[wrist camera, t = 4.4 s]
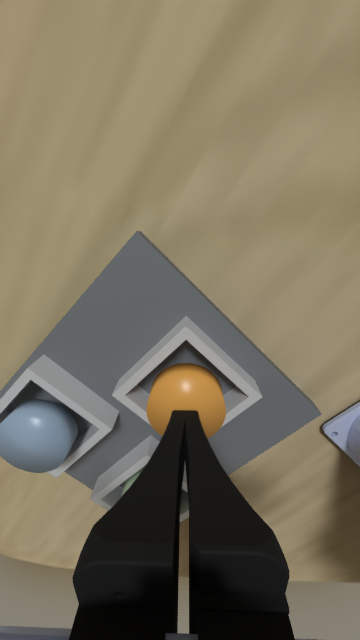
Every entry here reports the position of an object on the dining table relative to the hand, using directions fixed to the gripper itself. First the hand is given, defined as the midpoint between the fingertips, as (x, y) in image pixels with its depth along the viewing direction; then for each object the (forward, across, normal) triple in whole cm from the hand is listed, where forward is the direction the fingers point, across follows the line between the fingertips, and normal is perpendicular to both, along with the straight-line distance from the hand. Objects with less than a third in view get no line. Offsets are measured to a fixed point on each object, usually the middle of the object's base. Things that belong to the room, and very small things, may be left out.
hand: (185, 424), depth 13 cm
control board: (+6, +3, +3) cm, 7 cm away
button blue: (+3, +10, +3) cm, 11 cm away
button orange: (+3, 0, 0) cm, 3 cm away
